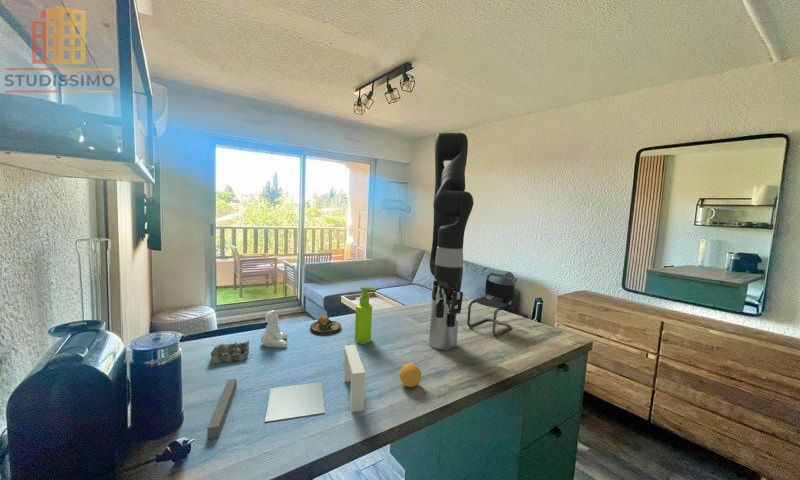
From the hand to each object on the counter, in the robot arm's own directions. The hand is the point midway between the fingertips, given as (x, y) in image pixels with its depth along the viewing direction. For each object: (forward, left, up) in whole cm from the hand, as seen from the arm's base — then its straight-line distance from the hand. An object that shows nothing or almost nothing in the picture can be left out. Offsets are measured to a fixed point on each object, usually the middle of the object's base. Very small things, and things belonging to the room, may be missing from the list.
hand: (444, 321), depth 86 cm
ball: (+9, 0, -15) cm, 17 cm away
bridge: (+25, 0, -18) cm, 31 cm away
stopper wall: (+55, 0, -18) cm, 58 cm away
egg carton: (+59, -27, -18) cm, 68 cm away
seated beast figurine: (+47, -34, -18) cm, 61 cm away
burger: (+29, -44, -18) cm, 56 cm away
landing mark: (+39, 0, -18) cm, 43 cm away
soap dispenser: (+16, -31, -18) cm, 39 cm away
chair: (-39, -33, -18) cm, 54 cm away
